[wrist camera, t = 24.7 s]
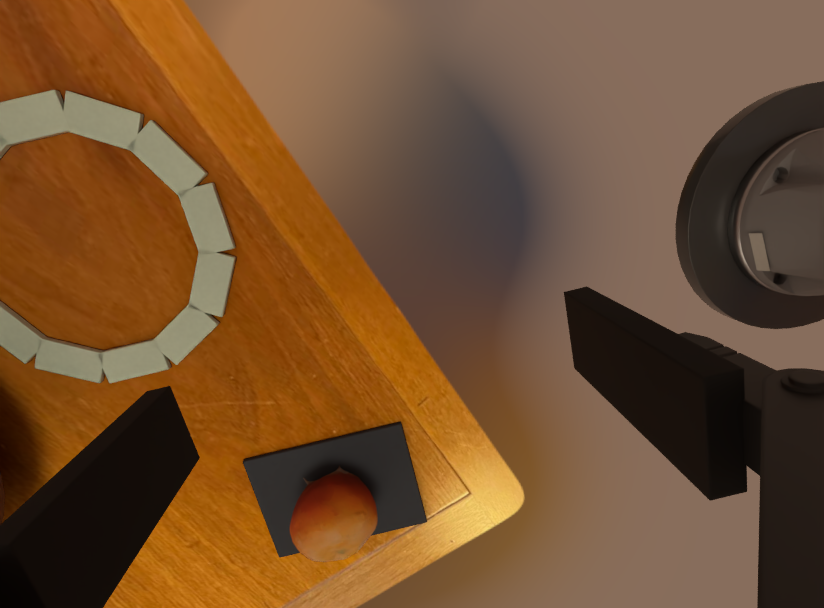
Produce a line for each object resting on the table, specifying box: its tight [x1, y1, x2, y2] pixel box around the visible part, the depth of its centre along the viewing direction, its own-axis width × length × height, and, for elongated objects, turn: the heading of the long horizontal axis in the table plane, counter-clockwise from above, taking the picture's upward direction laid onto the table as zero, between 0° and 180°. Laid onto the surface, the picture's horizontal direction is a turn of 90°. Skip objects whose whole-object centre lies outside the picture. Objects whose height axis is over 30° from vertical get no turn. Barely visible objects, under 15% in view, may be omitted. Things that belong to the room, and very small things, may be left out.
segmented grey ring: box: [0, 90, 236, 383], centre depth 39 cm, size 24×24×1 cm
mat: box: [243, 422, 427, 557], centre depth 47 cm, size 16×12×1 cm
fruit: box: [290, 465, 378, 562], centre depth 43 cm, size 8×8×8 cm
